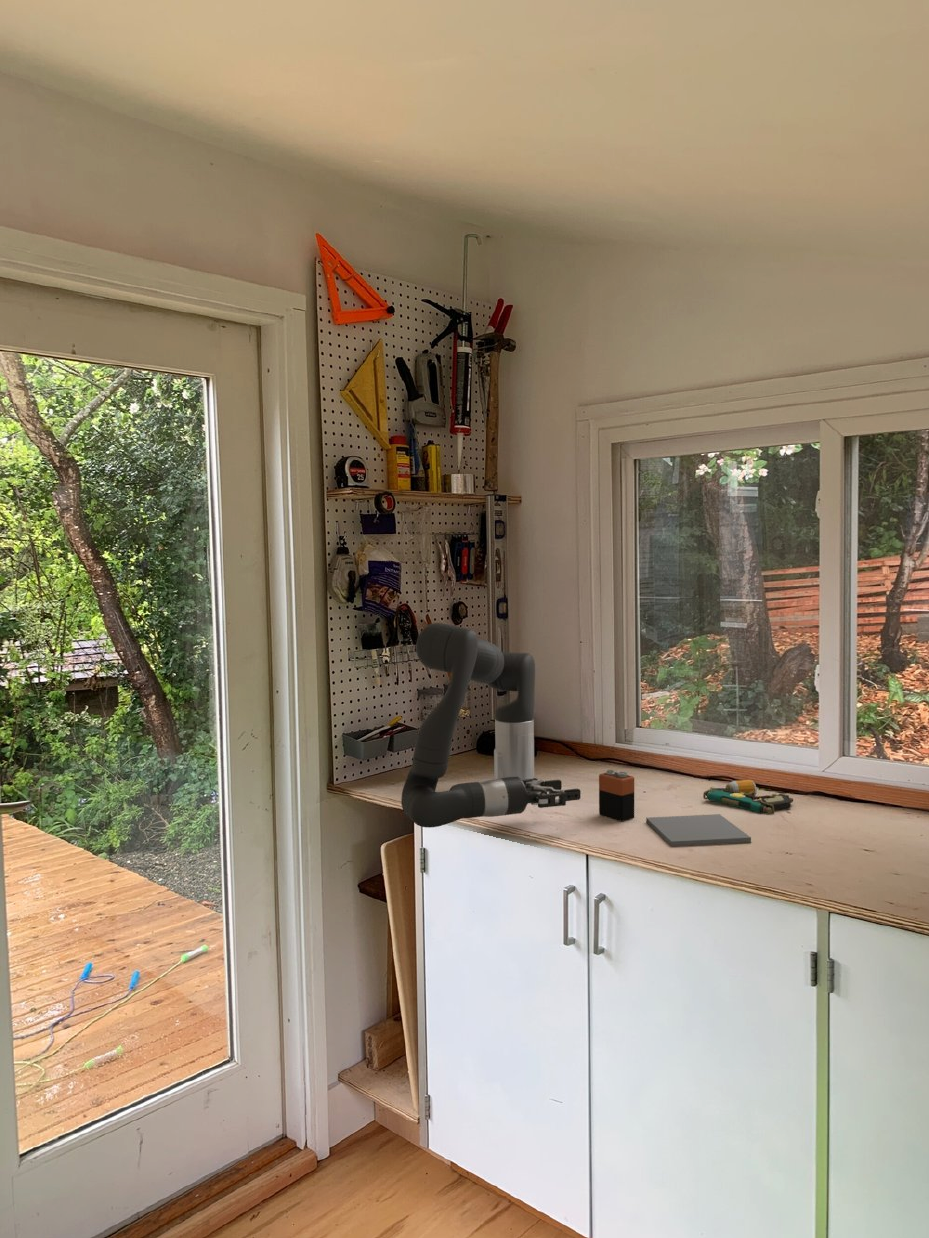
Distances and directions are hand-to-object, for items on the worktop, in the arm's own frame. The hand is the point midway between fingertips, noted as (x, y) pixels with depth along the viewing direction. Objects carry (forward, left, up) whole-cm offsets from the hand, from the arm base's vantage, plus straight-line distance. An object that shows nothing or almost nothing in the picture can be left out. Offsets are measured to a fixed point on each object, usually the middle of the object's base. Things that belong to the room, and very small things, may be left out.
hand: (570, 789), depth 192 cm
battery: (+11, +3, -8) cm, 14 cm away
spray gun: (+43, +8, -8) cm, 44 cm away
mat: (+24, -10, -7) cm, 27 cm away
